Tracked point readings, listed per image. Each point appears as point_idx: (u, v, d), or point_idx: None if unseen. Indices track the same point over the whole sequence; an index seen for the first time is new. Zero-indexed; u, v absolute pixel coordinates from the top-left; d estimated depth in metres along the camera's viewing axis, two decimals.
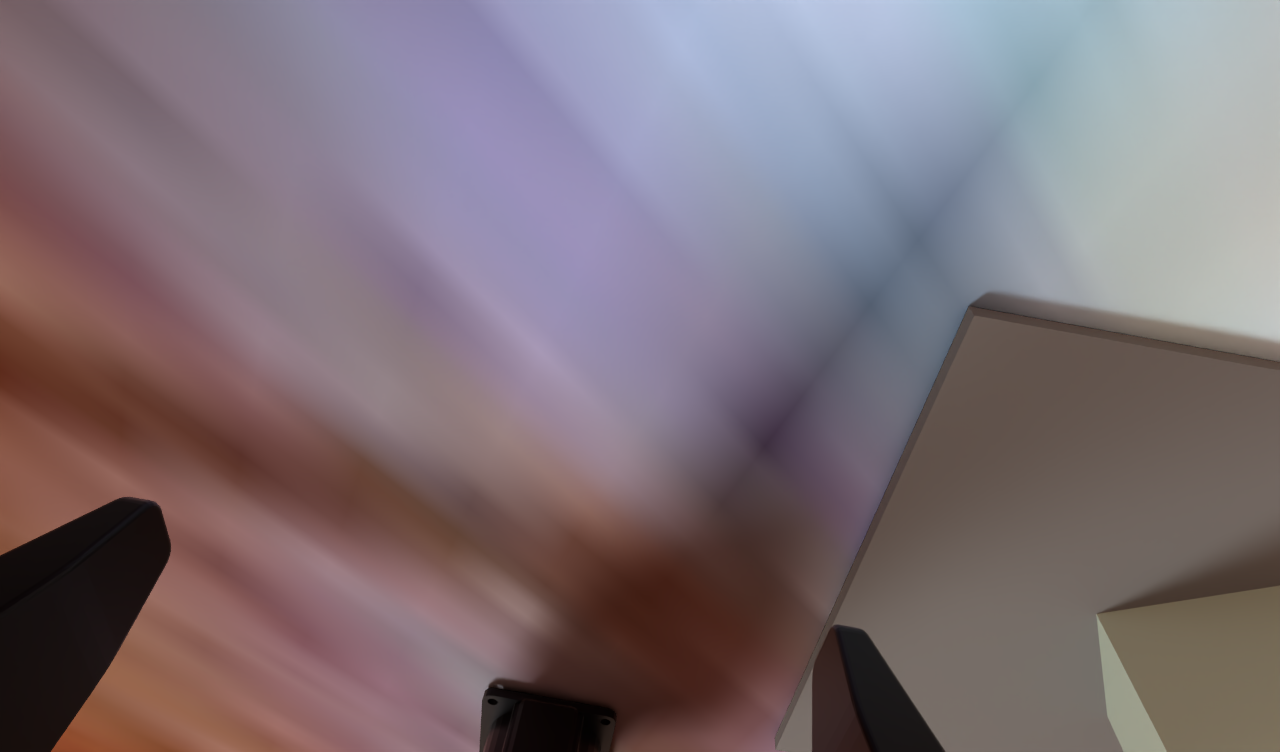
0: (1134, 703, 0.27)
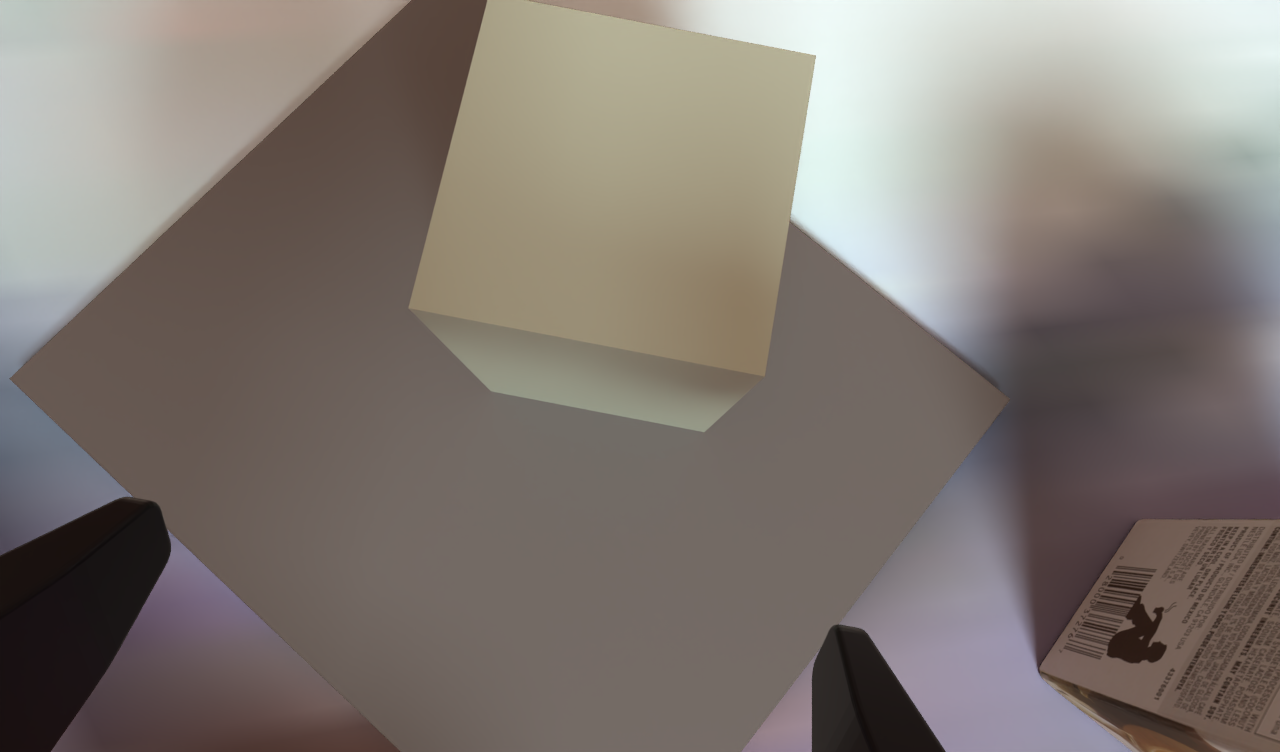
0: (508, 379, 0.20)
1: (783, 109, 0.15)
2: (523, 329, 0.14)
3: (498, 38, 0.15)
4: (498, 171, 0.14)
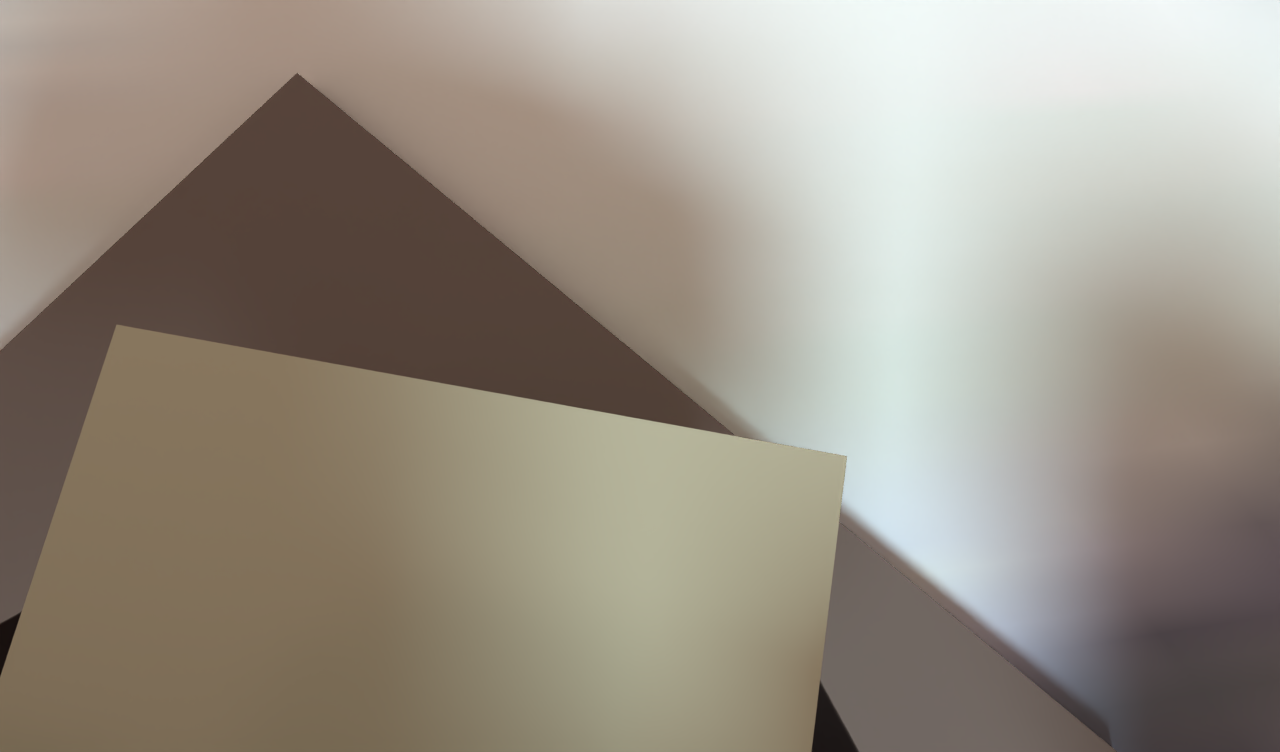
0: None
1: (776, 595, 0.07)
2: None
3: (127, 436, 0.07)
4: None
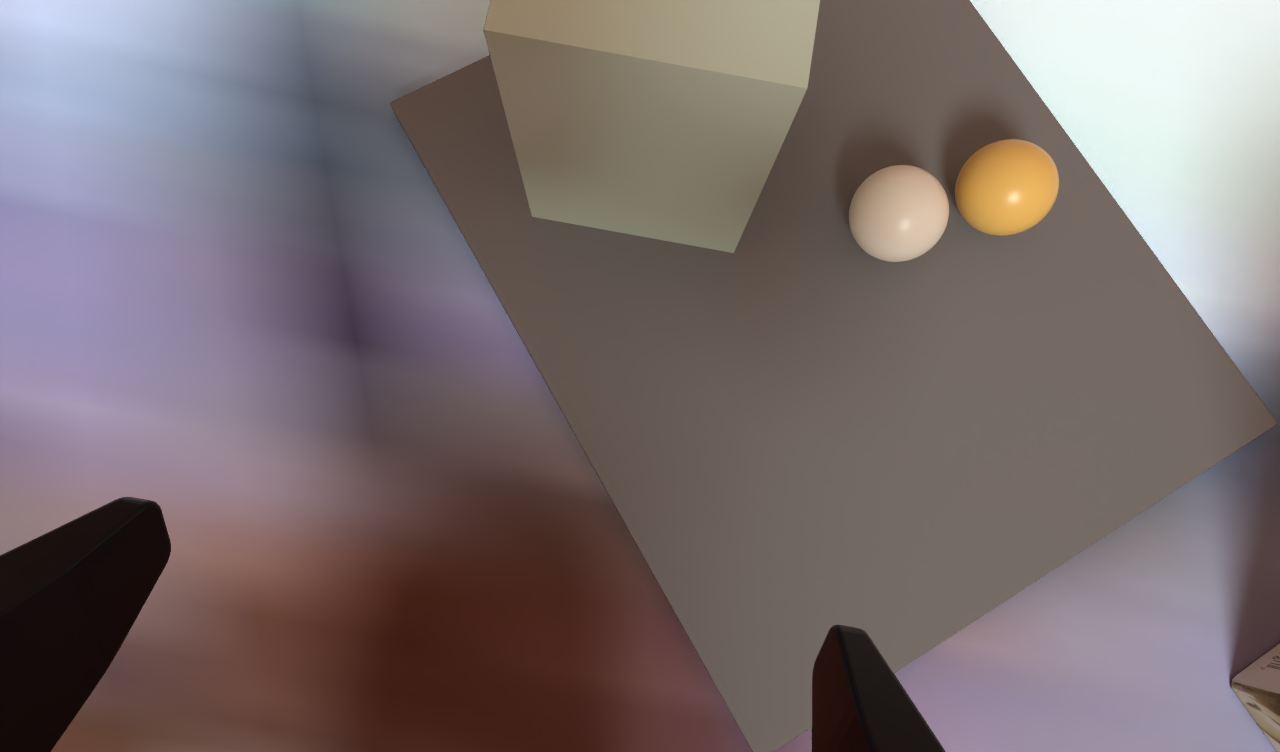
0: (554, 179, 0.22)
1: None
2: (588, 47, 0.15)
3: None
4: None
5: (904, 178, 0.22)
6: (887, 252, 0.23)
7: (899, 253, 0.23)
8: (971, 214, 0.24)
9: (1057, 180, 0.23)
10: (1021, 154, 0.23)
